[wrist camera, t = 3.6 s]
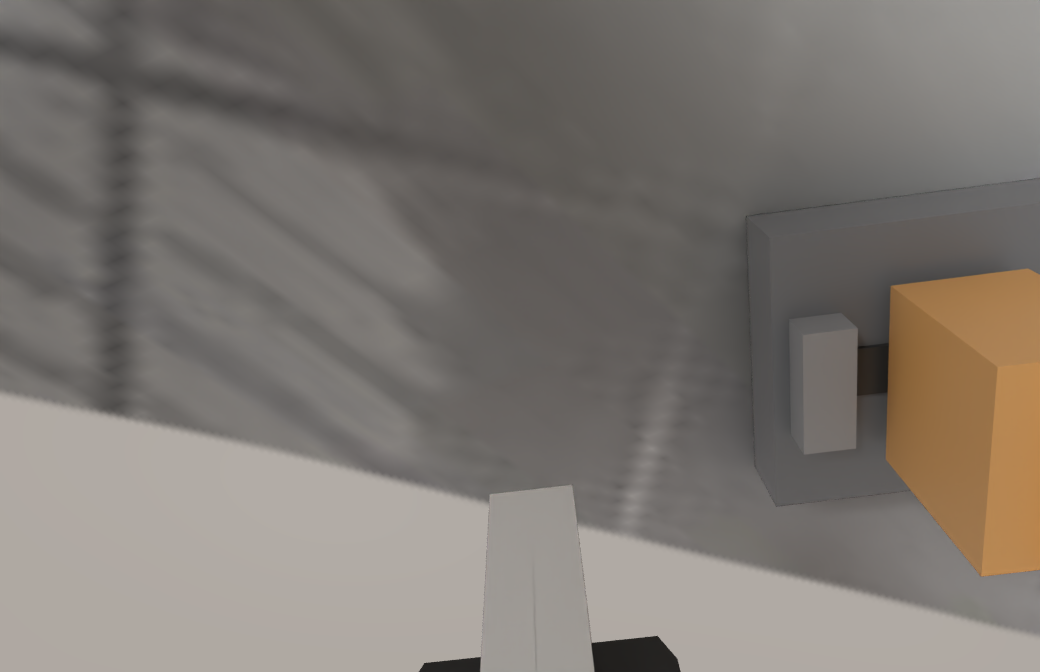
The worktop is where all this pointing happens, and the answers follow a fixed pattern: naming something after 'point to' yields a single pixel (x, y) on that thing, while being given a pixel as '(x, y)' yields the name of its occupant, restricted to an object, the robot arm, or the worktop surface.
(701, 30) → the worktop surface
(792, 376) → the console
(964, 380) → the slider
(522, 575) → the robot arm
